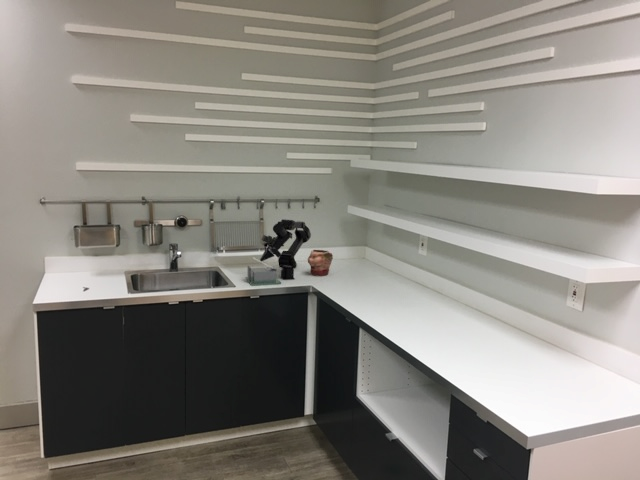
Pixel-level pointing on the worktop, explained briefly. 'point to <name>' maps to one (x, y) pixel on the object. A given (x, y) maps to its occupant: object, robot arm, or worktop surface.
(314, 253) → the decorative planter
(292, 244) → the robot arm
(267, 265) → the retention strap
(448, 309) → the worktop surface
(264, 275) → the green grey square block
